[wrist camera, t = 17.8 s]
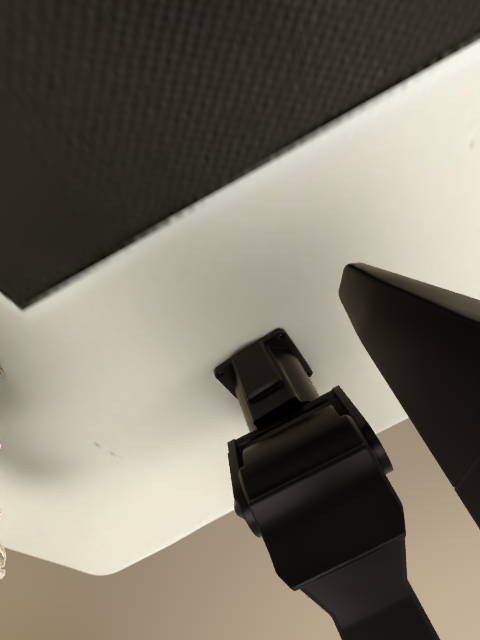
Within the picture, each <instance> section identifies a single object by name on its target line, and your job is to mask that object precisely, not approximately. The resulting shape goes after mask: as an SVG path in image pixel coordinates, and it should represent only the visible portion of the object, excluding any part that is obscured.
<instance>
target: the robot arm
mask: <svg viewBox="0 0 480 640" xmlns="http://www.w3.org/2000/svg"><path fill="white" fill-rule="evenodd" d="M339 297H340V300H341V302H342V304H343V306H344V308H345V310H346V312H347V314H348V316H349V318H350V321H351V323H352V325H353V327H354V329H355V331H356V333H357V335H358V337H359V339H360V340H361V342H362V344H363V346H364V347H365V349H366V350H367V352H368V354H369V355H370V357H371V358H372V360H373V361H374V363H375V365H376V366H377V368H378V369H379V371H380V372H381V374H382V376H383V377H384V379H385V380H386V382H387V383H388V385H389V387H390V388H391V390H392V391H393V393H394V394H395V396H396V398H397V399H398V401H399V402H400V404H401V406H402V407H403V409H404V410H405V412H406V413H407V415H408V417H409V418H410V419H411V421H412V423H413V424H414V426H415V428H416V429H417V431H418V432H419V434H420V435H421V437H422V438H423V440H424V442H425V443H426V445H427V446H428V448H429V450H430V451H431V453H432V454H433V456H434V457H435V459H436V460H437V462H438V464H439V465H440V467H441V469H442V470H443V472H444V473H445V475H446V476H447V478H448V479H449V481H450V483H451V484H452V486H453V487H455V491H456V493H457V494H458V496H459V497H460V499H461V500H462V502H463V504H464V505H465V507H466V508H467V510H468V511H469V513H470V514H471V516H472V518H473V519H474V521H475V522H476V524H477V526H478V527H479V529H480V300H477V299H474V298H471V297H468V296H465V295H462V294H458V293H455V292H452V291H449V290H446V289H443V288H440V287H436V286H433V285H430V284H427V283H424V282H421V281H418V280H414V279H411V278H408V277H405V276H402V275H399V274H395V273H392V272H389V271H386V270H383V269H380V268H377V267H373V266H370V265H367V264H364V263H351V264H347V265H346V266H345V268H344V270H343V274H342V279H341V283H340V288H339ZM280 334H282V335H281V336H279V335H280ZM220 372H222V373H220ZM312 373H313V372H312V370H311V368H310V367H309V365H308V364H307V363H306V361H305V360H304V358H303V357H302V355H301V354H300V352H299V351H298V349H297V348H296V346H295V345H294V343H293V342H292V340H291V339H290V337H289V336H288V334H287V333H286V331H285V330H284V329H277V330H275V331H274V332H272V333H271V334H269V335H267V336H266V337H264V338H263V339H261V340H260V341H258V342H256V343H255V344H253V345H252V346H250V347H248V348H247V349H245V350H244V351H242V352H241V353H239V354H237V355H236V356H234V357H233V358H231V359H230V360H228V361H226V362H225V363H223V364H222V365H220V366H218V367H217V368H216V369H215V370H214V374H215V377H216V378H217V379H218V380H219V381H220V382H221V383H222V384H223V385H224V386H225V387H226V388H227V389H228V390H229V391H230V392H231V393H232V394H233V395H234V396H235V397H236V398H237V399H238V400H239V403H240V406H241V408H242V411H243V414H244V417H245V420H246V422H247V425H248V428H249V431H250V433H248V434H246V435H244V436H242V437H240V438H238V439H236V440H235V439H233V440H232V441H230V442H228V450H229V453H228V459H229V466H230V473H231V480H232V487H233V494H234V499H235V501H234V509H235V511H236V514H237V515H238V516H239V517H241V518H243V519H245V520H246V522H247V524H248V526H249V527H250V529H251V530H252V532H253V533H254V534H255V535H256V536H257V537H261V536H262V538H263V540H264V542H265V544H266V547H267V549H268V552H269V554H270V557H271V559H272V562H273V565H274V568H275V571H276V573H277V575H278V576H279V577H280V578H281V579H282V580H283V581H284V582H285V583H286V584H287V585H288V586H289V587H290V588H291V589H292V590H294V591H296V590H298V589H300V590H301V591H303V592H304V593H305V594H306V595H307V596H308V597H310V598H311V599H312V600H313V601H314V602H316V603H317V604H318V605H319V606H320V607H321V608H323V609H324V610H325V611H326V612H327V613H329V614H330V616H331V617H332V619H333V620H334V623H335V625H336V627H337V630H338V632H339V634H340V636H341V639H342V640H440V639H439V637H438V635H437V633H436V631H435V629H434V627H433V626H432V624H431V622H430V620H429V618H428V617H427V615H426V613H425V611H424V609H423V607H422V606H421V604H420V602H419V600H418V598H417V596H416V594H415V593H414V591H413V589H412V587H411V585H410V584H409V582H408V580H407V568H406V549H405V536H406V529H405V520H404V512H403V506H402V503H401V501H400V499H399V498H398V496H397V494H396V492H395V491H394V489H393V487H392V486H391V484H390V482H389V480H388V478H387V477H386V475H385V474H387V473H389V472H391V471H393V467H392V464H391V462H390V460H389V458H388V456H387V454H386V452H385V450H384V448H383V446H382V445H381V443H380V441H379V439H378V438H377V436H376V435H375V433H374V431H373V430H372V428H371V427H370V425H369V424H368V422H367V421H366V420H365V418H364V417H363V416H362V415H361V413H360V412H359V411H358V409H357V408H356V407H355V406H354V404H353V403H352V402H351V400H350V399H349V398H348V397H347V395H346V394H345V393H344V392H343V390H342V389H341V388H340V386H339V385H338V386H336V387H334V388H333V389H332V391H330V392H328V393H326V394H324V395H322V396H319V394H318V392H317V391H316V389H315V387H314V386H313V384H312V382H311V381H310V379H309V377H311V375H312Z"/></svg>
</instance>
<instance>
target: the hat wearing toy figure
mask: <svg viewBox="0 0 480 640" xmlns="http://www.w3.org/2000/svg"><path fill="white" fill-rule="evenodd" d="M0 449H1V444H0ZM0 517H1V511H0ZM0 553H2V555H3V557H4V560H3V559H2V558H0V579H2V578H3V577H4V576H5V570H3V569H1V567H4V566H5V561H6V552H5V550H4V547H3V546H2V545H1V544H0Z"/></svg>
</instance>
